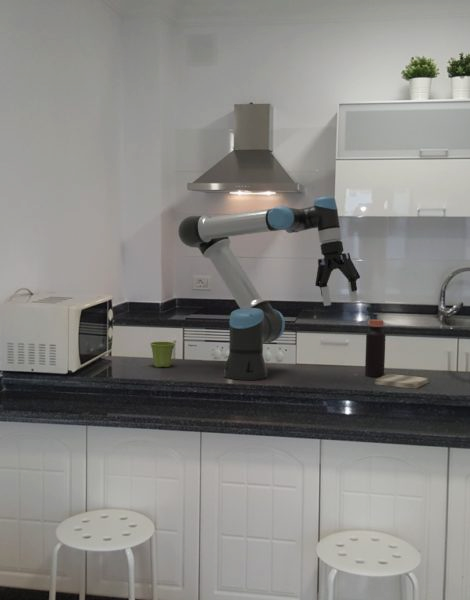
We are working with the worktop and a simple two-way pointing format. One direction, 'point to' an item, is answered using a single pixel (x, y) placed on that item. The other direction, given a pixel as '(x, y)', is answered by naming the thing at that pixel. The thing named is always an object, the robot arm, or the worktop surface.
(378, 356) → the vinegar
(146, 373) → the worktop surface
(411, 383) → the birch board
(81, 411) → the worktop surface
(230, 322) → the robot arm
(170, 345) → the plant pot
